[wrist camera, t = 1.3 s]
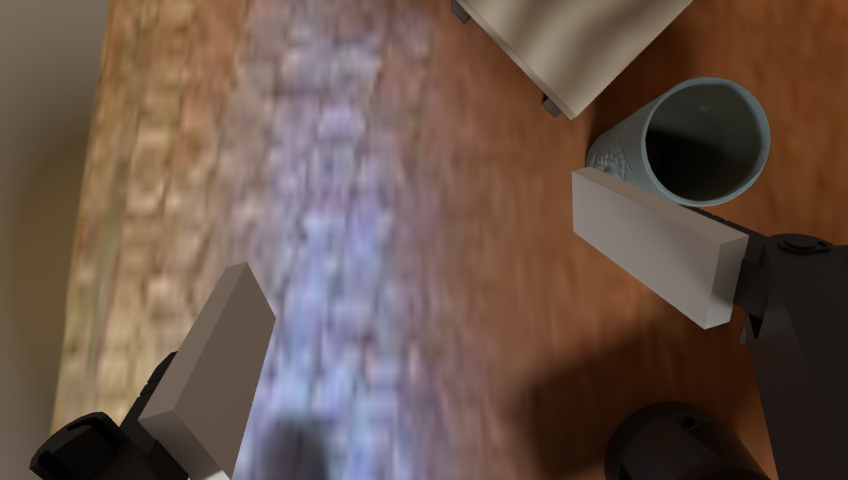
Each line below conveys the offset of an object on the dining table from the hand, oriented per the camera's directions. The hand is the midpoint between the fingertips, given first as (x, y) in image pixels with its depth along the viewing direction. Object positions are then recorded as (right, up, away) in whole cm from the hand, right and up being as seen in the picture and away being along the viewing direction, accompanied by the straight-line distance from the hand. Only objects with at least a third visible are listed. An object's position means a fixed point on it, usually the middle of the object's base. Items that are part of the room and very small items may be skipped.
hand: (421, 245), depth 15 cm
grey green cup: (+22, +9, +26) cm, 35 cm away
